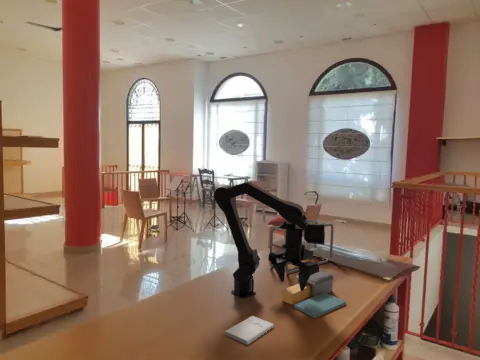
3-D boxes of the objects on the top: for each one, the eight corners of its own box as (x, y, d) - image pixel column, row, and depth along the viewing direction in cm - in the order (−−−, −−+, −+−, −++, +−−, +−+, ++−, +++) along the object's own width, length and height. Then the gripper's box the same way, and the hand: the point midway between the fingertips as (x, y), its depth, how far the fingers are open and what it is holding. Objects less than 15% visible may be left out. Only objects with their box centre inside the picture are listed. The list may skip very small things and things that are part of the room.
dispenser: (312, 298, 129) (313, 282, 128) (295, 291, 135) (296, 275, 134) (332, 291, 136) (332, 275, 135) (314, 284, 142) (315, 269, 141)
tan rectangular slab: (292, 305, 124) (292, 294, 124) (282, 301, 127) (282, 290, 127) (315, 294, 133) (315, 283, 133) (304, 291, 136) (305, 280, 136)
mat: (315, 318, 115) (315, 314, 115) (293, 307, 122) (293, 304, 122) (346, 304, 125) (346, 301, 125) (324, 295, 132) (324, 292, 132)
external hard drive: (224, 336, 105) (251, 320, 114) (247, 346, 100) (273, 328, 109) (224, 330, 105) (251, 314, 114) (247, 341, 99) (274, 323, 109)
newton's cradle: (314, 255, 178) (316, 218, 176) (332, 261, 170) (334, 222, 168) (268, 268, 159) (269, 227, 157) (286, 275, 151) (287, 232, 149)
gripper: (331, 244, 124) (328, 289, 125) (289, 232, 138) (288, 273, 140) (308, 250, 117) (306, 297, 118) (267, 237, 131) (266, 279, 133)
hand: (291, 286), depth 128 cm, fingers open, 9 cm apart
